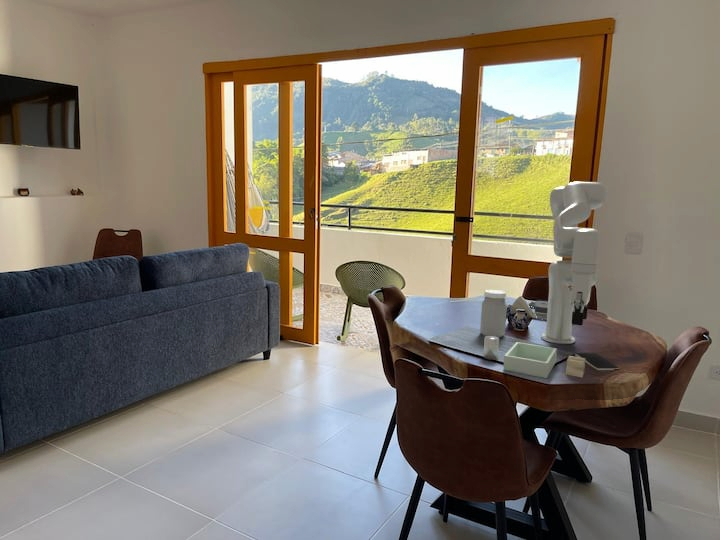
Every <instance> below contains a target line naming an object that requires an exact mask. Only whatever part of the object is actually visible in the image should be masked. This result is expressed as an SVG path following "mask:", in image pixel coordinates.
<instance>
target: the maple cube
mask: <svg viewBox="0 0 720 540" xmlns="http://www.w3.org/2000/svg"><path fill="white" fill-rule="evenodd" d="M585 359H586V358H580V357H577V356H574V355H569V356H568V357H567V359H566V366H565V367H566V369H565V375H566V376H567V375H568V376H573V377H578V378H583V377H584V374H585V367H586V362H585Z"/></svg>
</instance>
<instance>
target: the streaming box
mask: <svg viewBox="0 0 720 540" xmlns="http://www.w3.org/2000/svg"><path fill="white" fill-rule="evenodd" d="M534 302H535V308H534V312H538V313H545V314H547V311H548V300H547V301H546V300H535V301H534Z"/></svg>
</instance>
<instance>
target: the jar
mask: <svg viewBox="0 0 720 540" xmlns="http://www.w3.org/2000/svg"><path fill="white" fill-rule="evenodd" d="M483 294H484V297H483V299H484V300H483V301H482V302H481V311H480V313H481V314H480V326H479V327H480V328H479V332H480V333H481V334H482V335H483V336H484V337H486V336H495V337H498V338H499V339H500V338H502V337H504V335H505V334H506V326H507V325H506V323H507V311H508V310H507V309H508V303H507V302H506V296H507V292H506V291H504V290H502V289H491V288H490V289H485V290H484V293H483Z"/></svg>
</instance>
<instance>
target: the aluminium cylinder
mask: <svg viewBox="0 0 720 540" xmlns="http://www.w3.org/2000/svg"><path fill="white" fill-rule="evenodd" d="M483 340H484V343H483V344H484V345H483V353H482V354H483V358H484V359H487V360H497V359H498V358H499V349H500V347H499V346H500V337H499V338H498V337H495V336H484V339H483Z"/></svg>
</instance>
